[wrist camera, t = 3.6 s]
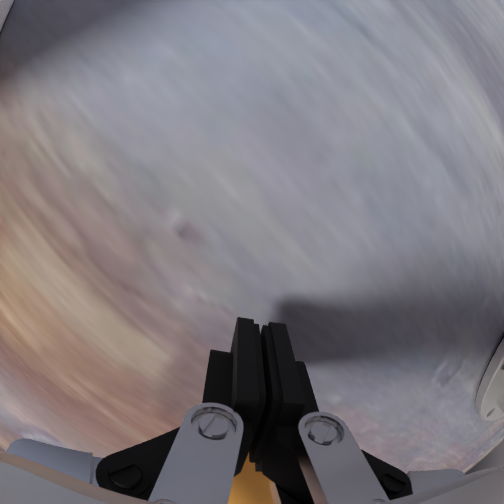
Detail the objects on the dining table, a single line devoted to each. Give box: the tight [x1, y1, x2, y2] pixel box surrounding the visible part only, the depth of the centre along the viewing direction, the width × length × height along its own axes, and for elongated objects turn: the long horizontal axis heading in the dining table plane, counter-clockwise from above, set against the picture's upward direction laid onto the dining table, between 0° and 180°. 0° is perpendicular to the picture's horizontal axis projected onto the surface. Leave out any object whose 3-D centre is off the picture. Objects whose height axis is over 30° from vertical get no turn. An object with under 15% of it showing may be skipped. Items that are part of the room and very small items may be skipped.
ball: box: [228, 453, 274, 504], centre depth 11 cm, size 6×6×6 cm
